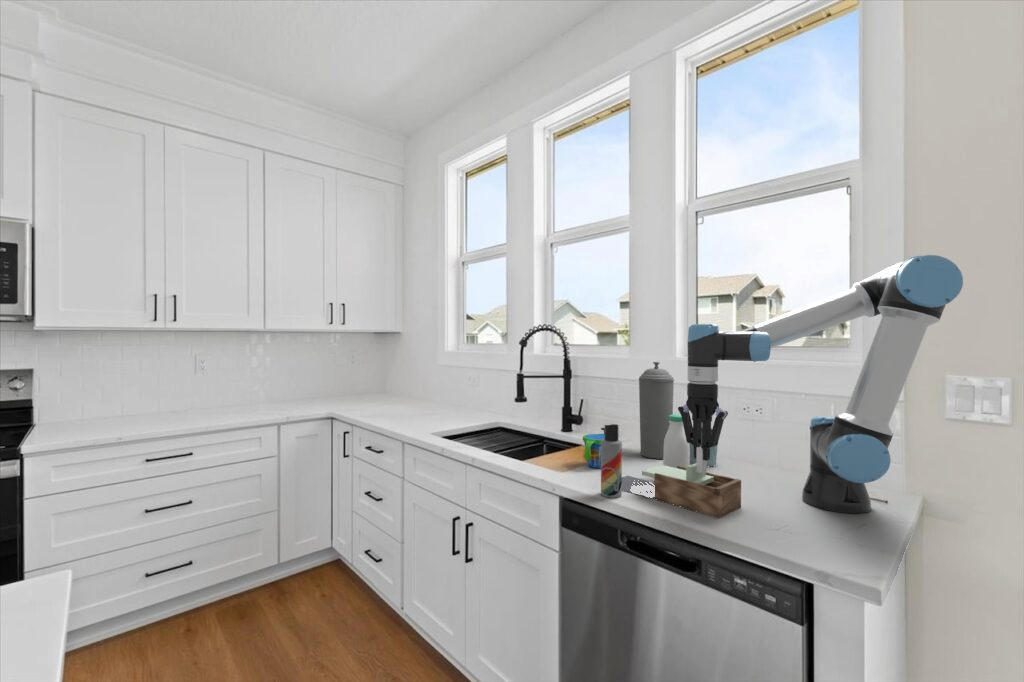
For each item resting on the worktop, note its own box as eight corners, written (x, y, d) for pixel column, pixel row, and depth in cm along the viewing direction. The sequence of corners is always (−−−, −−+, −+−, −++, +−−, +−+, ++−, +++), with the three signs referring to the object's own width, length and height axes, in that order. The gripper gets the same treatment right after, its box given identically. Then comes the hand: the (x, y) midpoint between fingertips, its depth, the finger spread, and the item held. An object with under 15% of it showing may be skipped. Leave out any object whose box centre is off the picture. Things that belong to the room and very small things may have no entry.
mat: (676, 489, 141) (676, 488, 141) (650, 498, 133) (650, 498, 133) (627, 476, 154) (627, 475, 154) (601, 484, 146) (601, 483, 146)
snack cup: (599, 459, 175) (599, 431, 175) (624, 464, 168) (624, 435, 168) (572, 467, 164) (572, 437, 164) (597, 473, 157) (597, 442, 157)
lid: (713, 481, 131) (714, 463, 131) (695, 488, 124) (695, 470, 124) (661, 468, 143) (661, 452, 143) (641, 475, 136) (641, 458, 136)
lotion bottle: (609, 499, 132) (609, 426, 132) (596, 493, 137) (597, 423, 137) (625, 496, 135) (626, 424, 135) (612, 490, 140) (612, 421, 140)
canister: (650, 450, 189) (650, 360, 189) (680, 456, 180) (680, 361, 179) (631, 455, 181) (631, 361, 180) (662, 462, 171) (662, 363, 171)
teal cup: (682, 460, 174) (683, 427, 173) (709, 459, 175) (709, 426, 175) (696, 468, 164) (696, 432, 163) (725, 467, 165) (725, 432, 164)
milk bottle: (691, 484, 146) (691, 417, 146) (664, 482, 148) (665, 417, 147) (687, 476, 154) (687, 413, 153) (662, 475, 155) (662, 413, 155)
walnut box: (741, 507, 126) (741, 480, 126) (718, 518, 119) (718, 489, 119) (678, 490, 140) (678, 465, 140) (654, 499, 132) (654, 473, 132)
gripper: (672, 381, 130) (671, 468, 131) (719, 385, 120) (718, 480, 121) (687, 379, 135) (686, 464, 136) (733, 383, 125) (732, 474, 126)
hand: (701, 471), depth 128 cm, fingers closed
